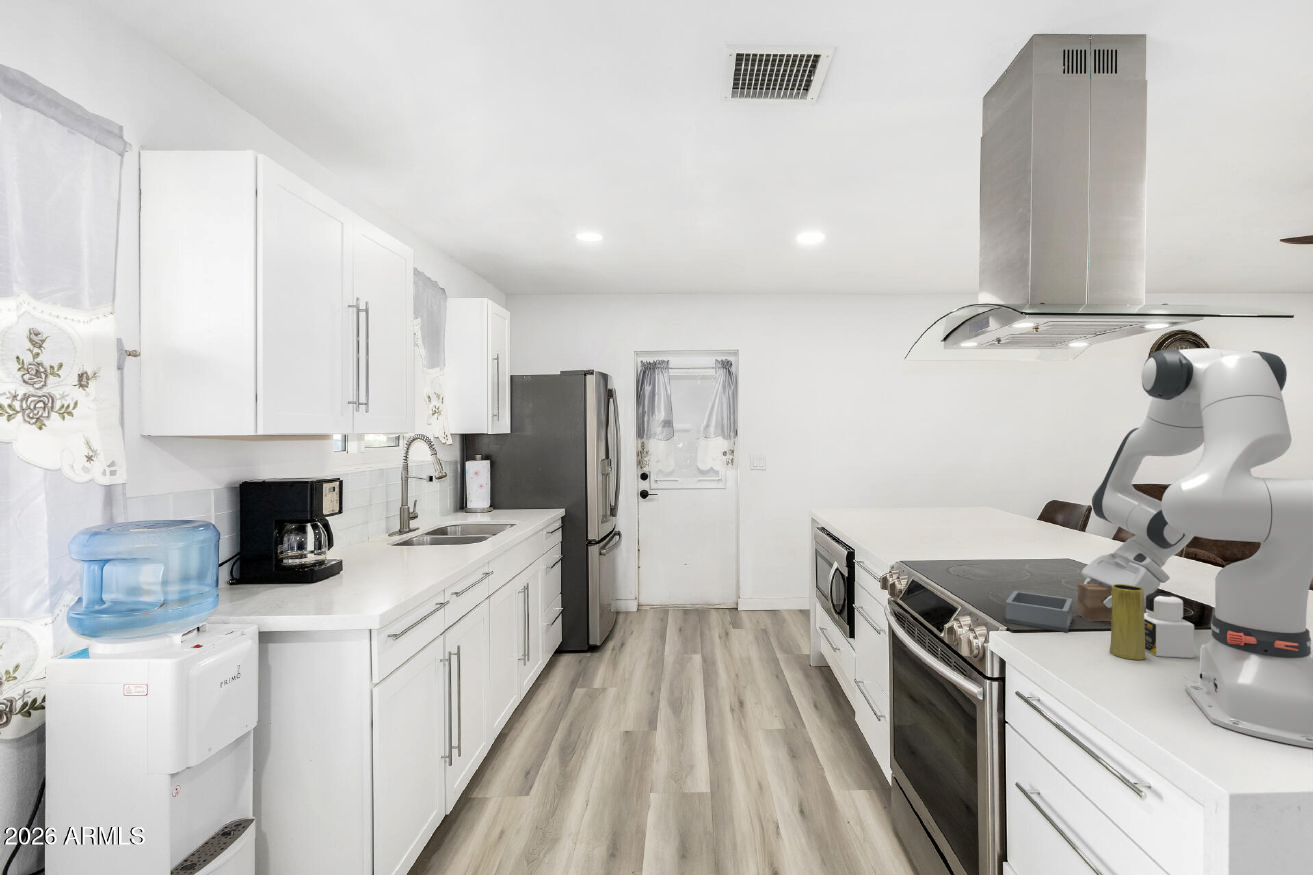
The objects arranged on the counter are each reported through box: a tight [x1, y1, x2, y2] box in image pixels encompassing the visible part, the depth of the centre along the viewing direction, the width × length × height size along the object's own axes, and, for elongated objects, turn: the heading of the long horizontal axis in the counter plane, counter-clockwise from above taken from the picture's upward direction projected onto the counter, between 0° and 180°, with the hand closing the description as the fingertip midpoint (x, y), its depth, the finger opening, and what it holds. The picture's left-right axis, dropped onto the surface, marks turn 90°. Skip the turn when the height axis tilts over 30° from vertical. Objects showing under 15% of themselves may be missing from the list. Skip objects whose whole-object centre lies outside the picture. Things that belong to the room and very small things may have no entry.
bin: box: [1005, 590, 1074, 633], centre depth 149 cm, size 13×13×5 cm
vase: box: [1109, 584, 1147, 661], centre depth 126 cm, size 6×6×14 cm
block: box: [1077, 583, 1112, 621], centre depth 150 cm, size 5×5×8 cm
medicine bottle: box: [1144, 592, 1195, 659], centre depth 128 cm, size 7×7×12 cm
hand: (1092, 599), depth 150 cm, fingers open, 8 cm apart
